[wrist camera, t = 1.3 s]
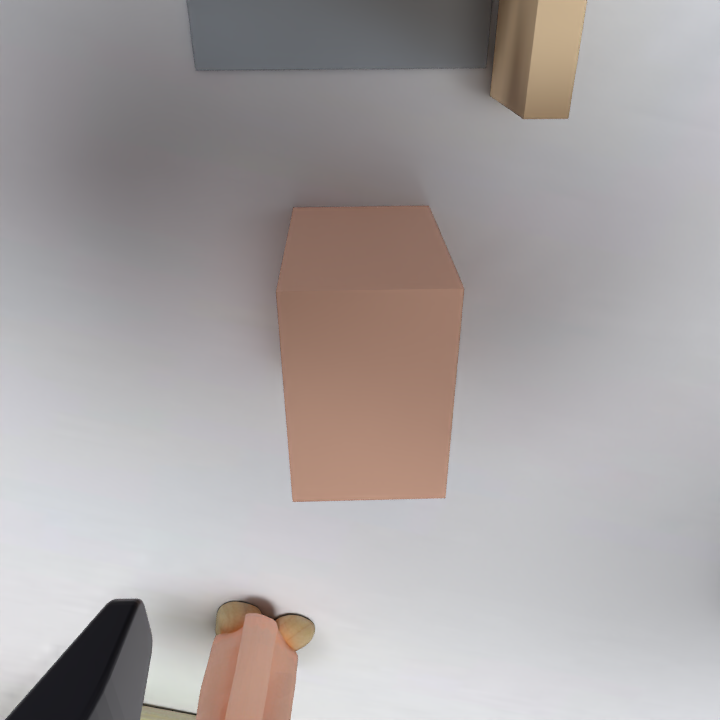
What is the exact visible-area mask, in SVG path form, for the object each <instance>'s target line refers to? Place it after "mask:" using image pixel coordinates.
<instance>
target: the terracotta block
mask: <svg viewBox="0 0 720 720" xmlns="http://www.w3.org/2000/svg"><path fill="white" fill-rule="evenodd" d="M463 296H464V287H463V285H462V282H461V280H460V277H459V275H458V273H457V270H456V268H455V266H454V263H453V261H452V259H451V256H450V254H449V252H448V249H447V247H446V245H445V242H444V240H443V238H442V235H441V233H440V231H439V228H438V226H437V224H436V221H435V219H434V217H433V214H432V212H431V210H430V207H429V206H360V207H293V211H292V216H291V221H290V226H289V231H288V236H287V240H286V245H285V250H284V255H283V260H282V265H281V269H280V274H279V279H278V284H277V289H276V299H277V311H278V324H279V336H280V349H281V361H282V374H283V386H284V399H285V411H286V424H287V436H288V449H289V461H290V474H291V486H292V499H293V502H304V501H345V500H385V499H426V498H445V495H446V484H447V473H448V462H449V451H450V440H451V429H452V418H453V407H454V396H455V385H456V374H457V363H458V352H459V341H460V330H461V318H462V307H463Z"/></svg>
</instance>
